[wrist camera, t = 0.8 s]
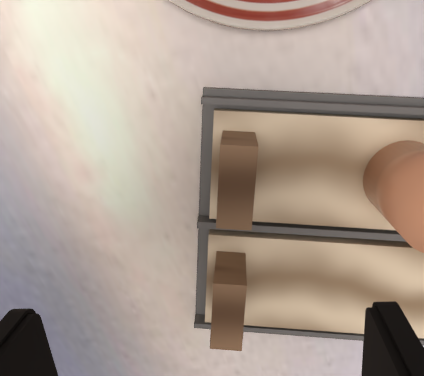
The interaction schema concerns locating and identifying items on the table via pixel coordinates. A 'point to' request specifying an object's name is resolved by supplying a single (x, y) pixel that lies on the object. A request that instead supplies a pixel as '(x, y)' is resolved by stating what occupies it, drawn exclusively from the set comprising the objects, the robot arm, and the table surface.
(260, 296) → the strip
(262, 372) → the table surface
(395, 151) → the canister
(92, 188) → the table surface
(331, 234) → the lane frame
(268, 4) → the dinner plate
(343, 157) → the strip
